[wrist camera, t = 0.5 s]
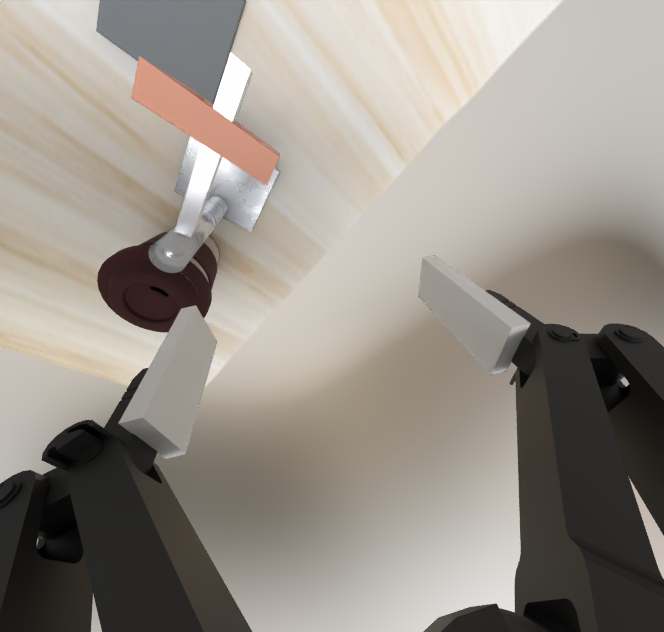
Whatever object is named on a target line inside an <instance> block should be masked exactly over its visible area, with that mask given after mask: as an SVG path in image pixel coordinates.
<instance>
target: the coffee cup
mask: <svg viewBox="0 0 664 632" xmlns="http://www.w3.org/2000/svg"><path fill="white" fill-rule="evenodd" d="M167 233H168V232H164V233H161V234H159V235H157V236H155V237H153V238H152V239H150V240H148V241H146V242H144V243H142V244H140V245H138V246H132V247H128V248H125V249H122V250H120V251H118V252H117V253H115V254H114V255H112V256H111V257H110V258H108V259H107V260H106V261H105V262H104V263H103V264H102V266H101V268H100V270H99V272H98V280H97V281H98V287H99V291H100V293H101V295H102V298H103V299H104V301H105V302H106V303H107V305H108V306H109V307H110V308H111V309H112V310H113V311H114V312H115V313H116V314H118V315H119V316H120V317H121V318H123V319H125V320H126V321H128V322H130V323H132V324H134V325H136V326H138V327H141V328H144V329H147V330H152V331H157V332H169V330H170V328H171V327H172V325H173V323H174V321H175V319H176V318H177V316H178V314H179V312H180V310H181V308H186V307H191V306H195V305H196V306H197V308H198V310H199V312H200V313H201V315H202V317H203V318H204V317H205V316H206V314H207V312H208V310H209V307H210V304H211V299H212V294H211V290H212V286H213V283H214V280H215V276H216V273H217V264H218V261H219V251H218V248H217V246H216V244H215V242H214V241H213V239H212V238H211V237H210V236H208V237H207V239H206V240H205V241H204V243H203V244H202V245H201V247H200V248H199V249H198V251H197V252H196V253H195V255H194V256H193V257H192V258H191V260H190V261H189V262H188V264H187V265H186V266H185V268H184V269H183V270H182V271H180V272H177V273H168V272H164V271H162V270H160V269H158V268H157V267H156V266H155V265H154V264H153V263H152V262H151V260H150V258H149V248H150V247H151V246H152V245H153V244H154V243H155V242H157V241H158V240H159V239H160V238H162V237H163V236H164V235H165V234H167Z"/></svg>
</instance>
